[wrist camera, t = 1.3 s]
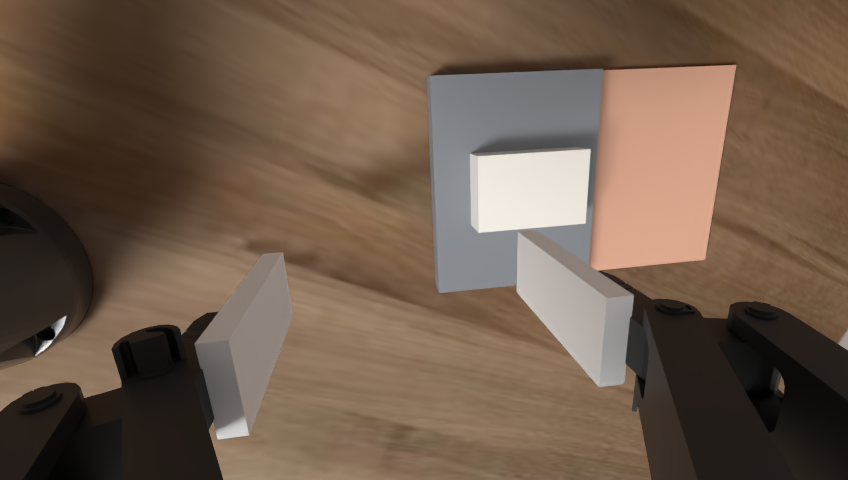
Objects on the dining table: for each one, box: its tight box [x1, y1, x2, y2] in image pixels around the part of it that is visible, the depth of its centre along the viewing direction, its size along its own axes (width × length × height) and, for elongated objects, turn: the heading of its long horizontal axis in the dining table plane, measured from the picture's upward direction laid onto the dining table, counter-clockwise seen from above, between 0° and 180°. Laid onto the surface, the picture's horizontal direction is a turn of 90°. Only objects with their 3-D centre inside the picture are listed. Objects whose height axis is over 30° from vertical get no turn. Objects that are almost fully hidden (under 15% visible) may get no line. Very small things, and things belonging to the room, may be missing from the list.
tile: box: [470, 147, 591, 233], centre depth 33 cm, size 9×6×2 cm, turn 93°
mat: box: [589, 65, 736, 270], centre depth 38 cm, size 13×18×1 cm
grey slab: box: [426, 69, 603, 293], centre depth 35 cm, size 14×18×2 cm
